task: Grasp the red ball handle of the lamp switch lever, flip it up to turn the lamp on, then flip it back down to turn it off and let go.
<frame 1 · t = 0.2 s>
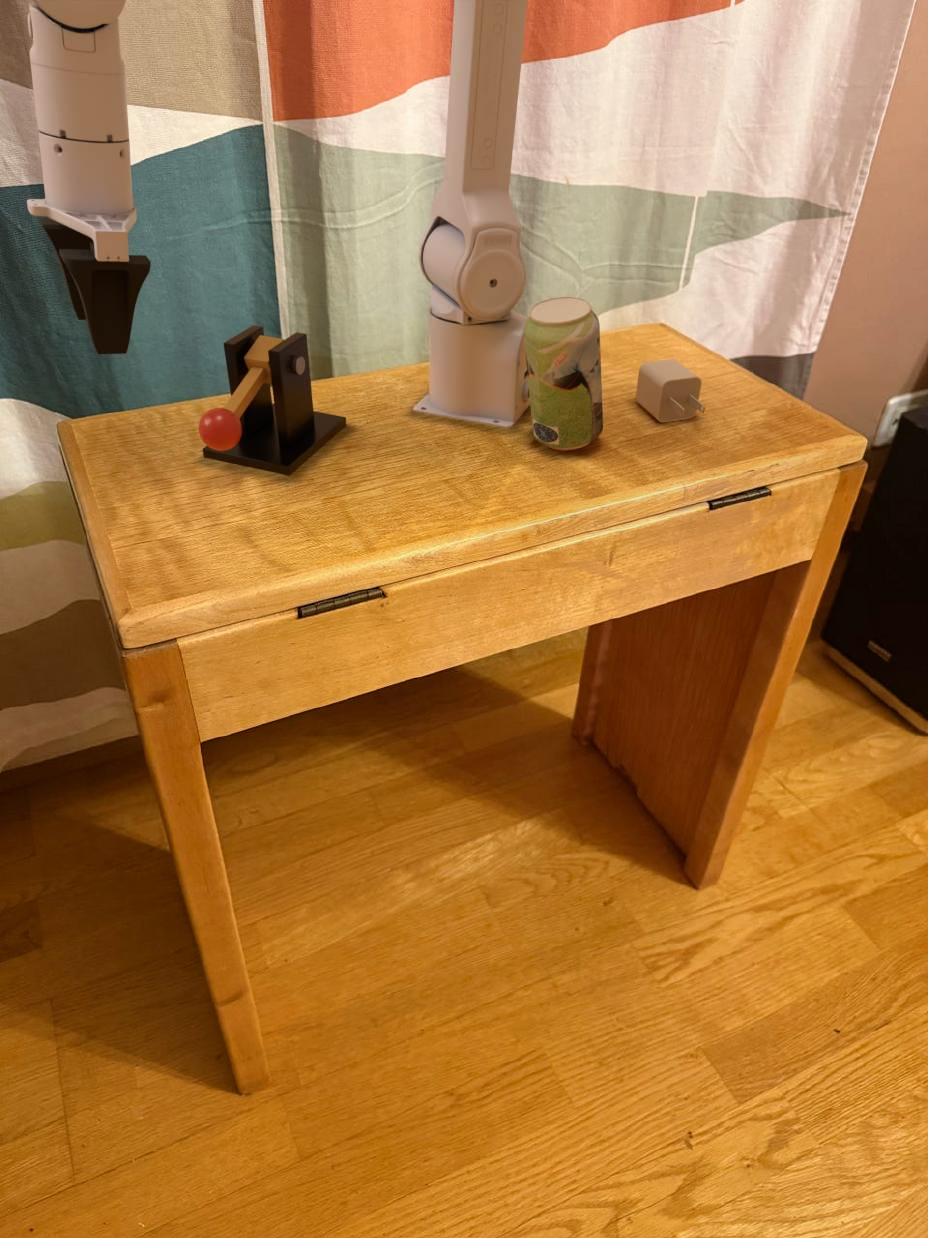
hand: (101, 334, 69), 10 cm above the table, tool pointing down, fingers open, 7 cm apart
switch lever: (244, 394, 71), point 6 cm above the table, hinge at -20.0°
switch bracket: (278, 445, 78), on the table
usb wall charger: (670, 418, 84), on the table
beverage can: (559, 444, 79), on the table
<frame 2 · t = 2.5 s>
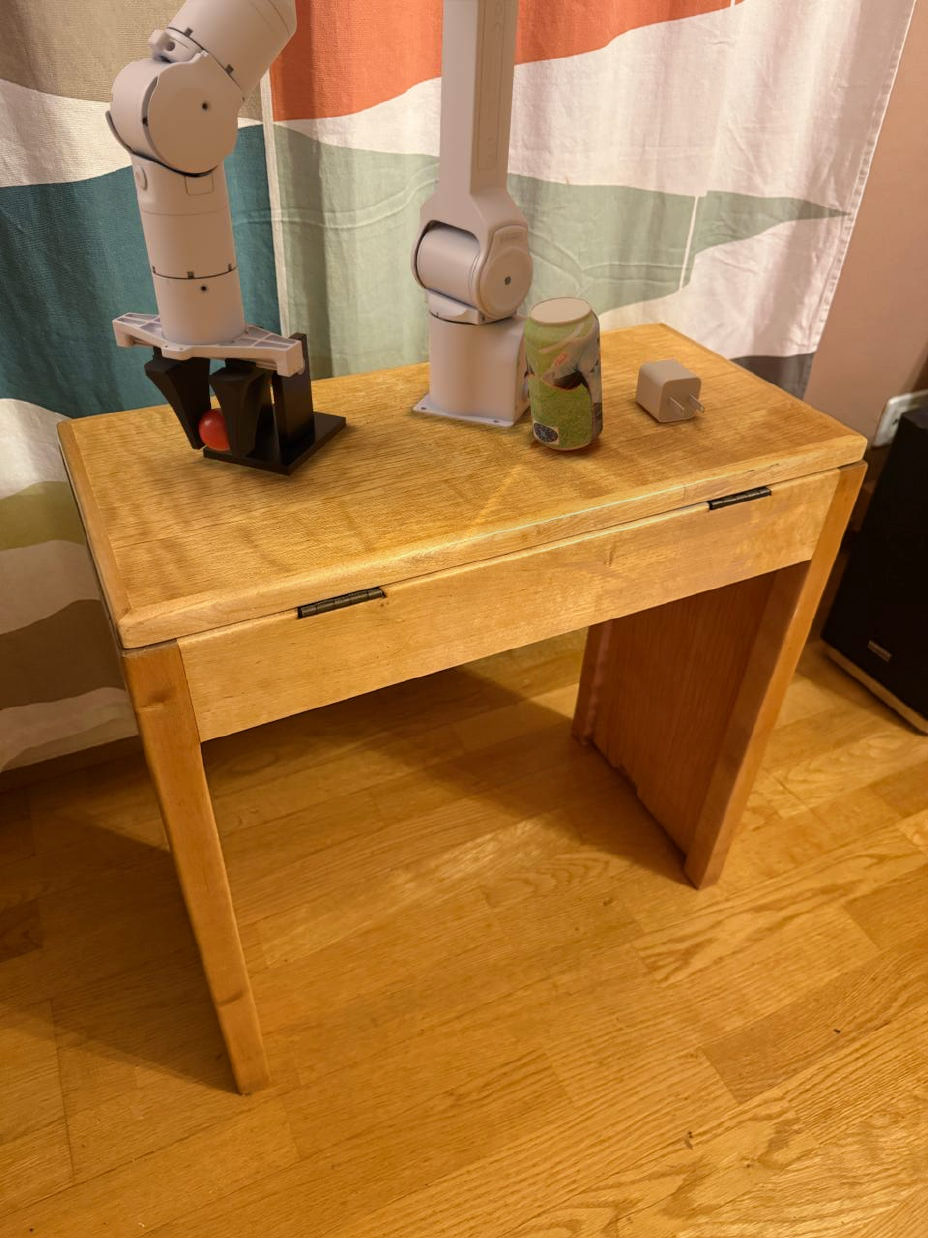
hand: (223, 448, 70), 3 cm above the table, tool pointing down, fingers closed on switch lever, 3 cm apart
switch lever: (244, 394, 71), point 6 cm above the table, hinge at -20.0°, touching gripper
everything else where it was.
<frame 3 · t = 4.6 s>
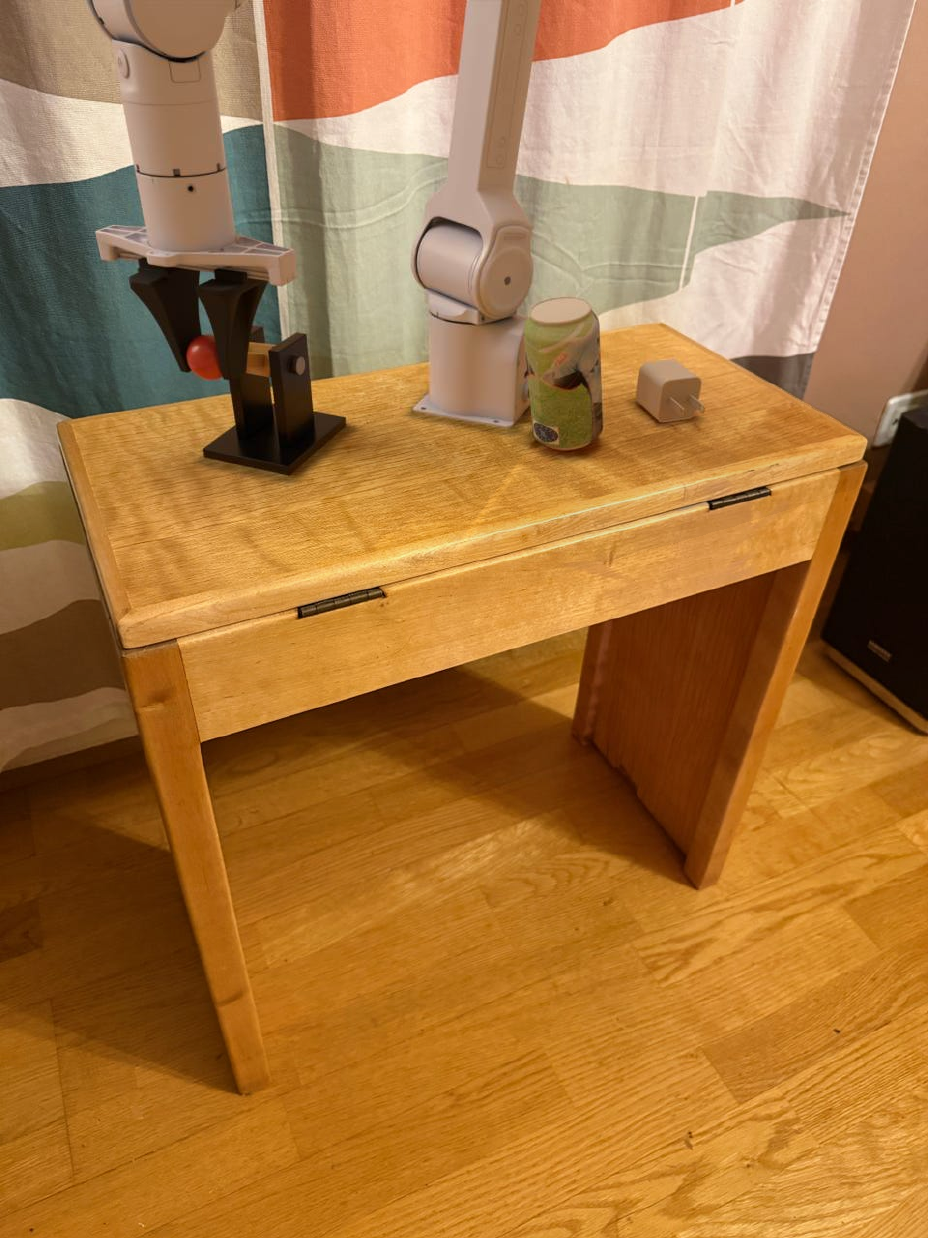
hand: (213, 371, 67), 9 cm above the table, tool pointing down, fingers closed on switch lever, 3 cm apart
switch lever: (239, 358, 70), point 9 cm above the table, hinge at 21.2°, touching gripper
everything else where it was.
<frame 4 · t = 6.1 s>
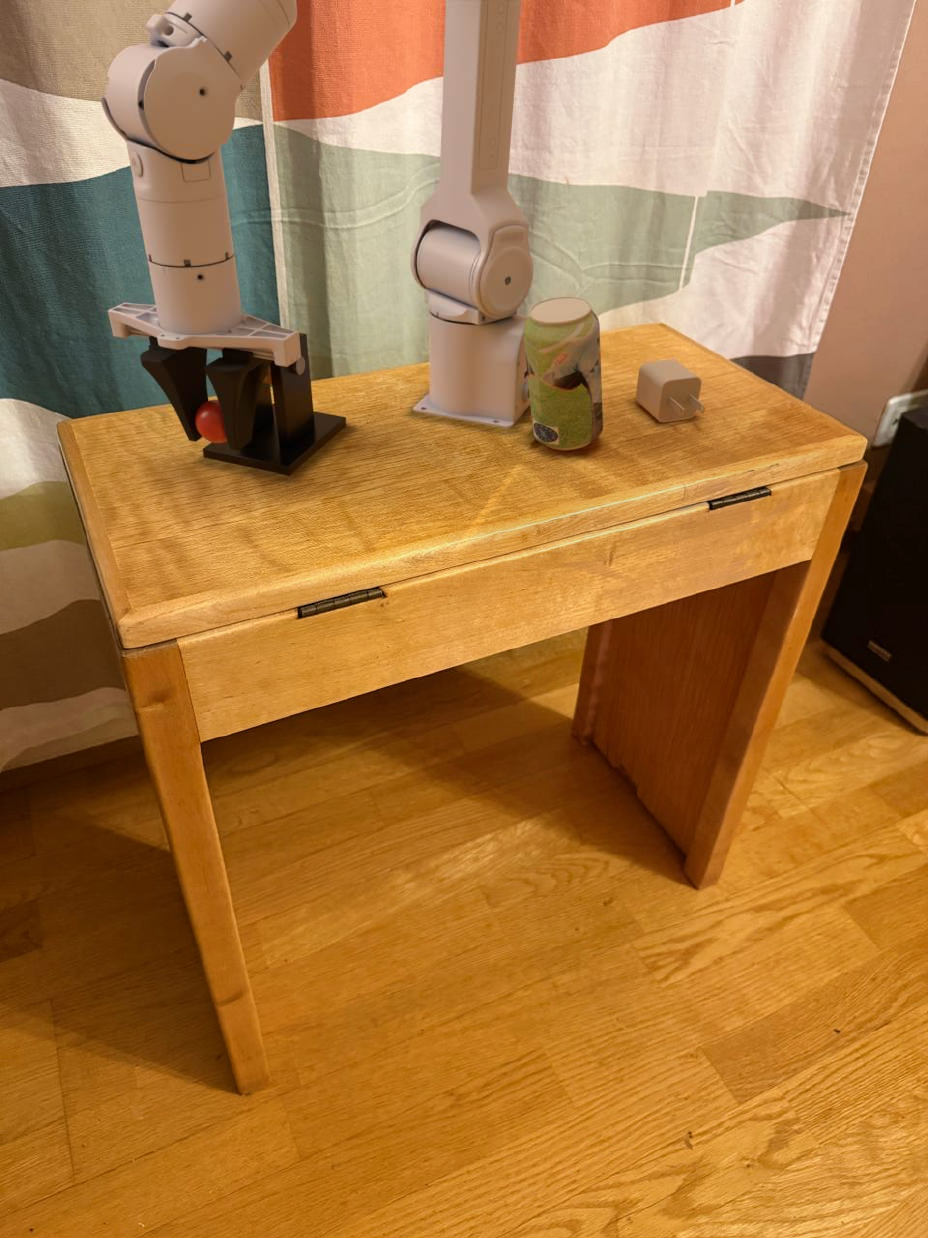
hand: (220, 440, 70), 4 cm above the table, tool pointing down, fingers closed on switch lever, 3 cm apart
switch lever: (242, 390, 71), point 6 cm above the table, hinge at -14.4°, touching gripper
everything else where it was.
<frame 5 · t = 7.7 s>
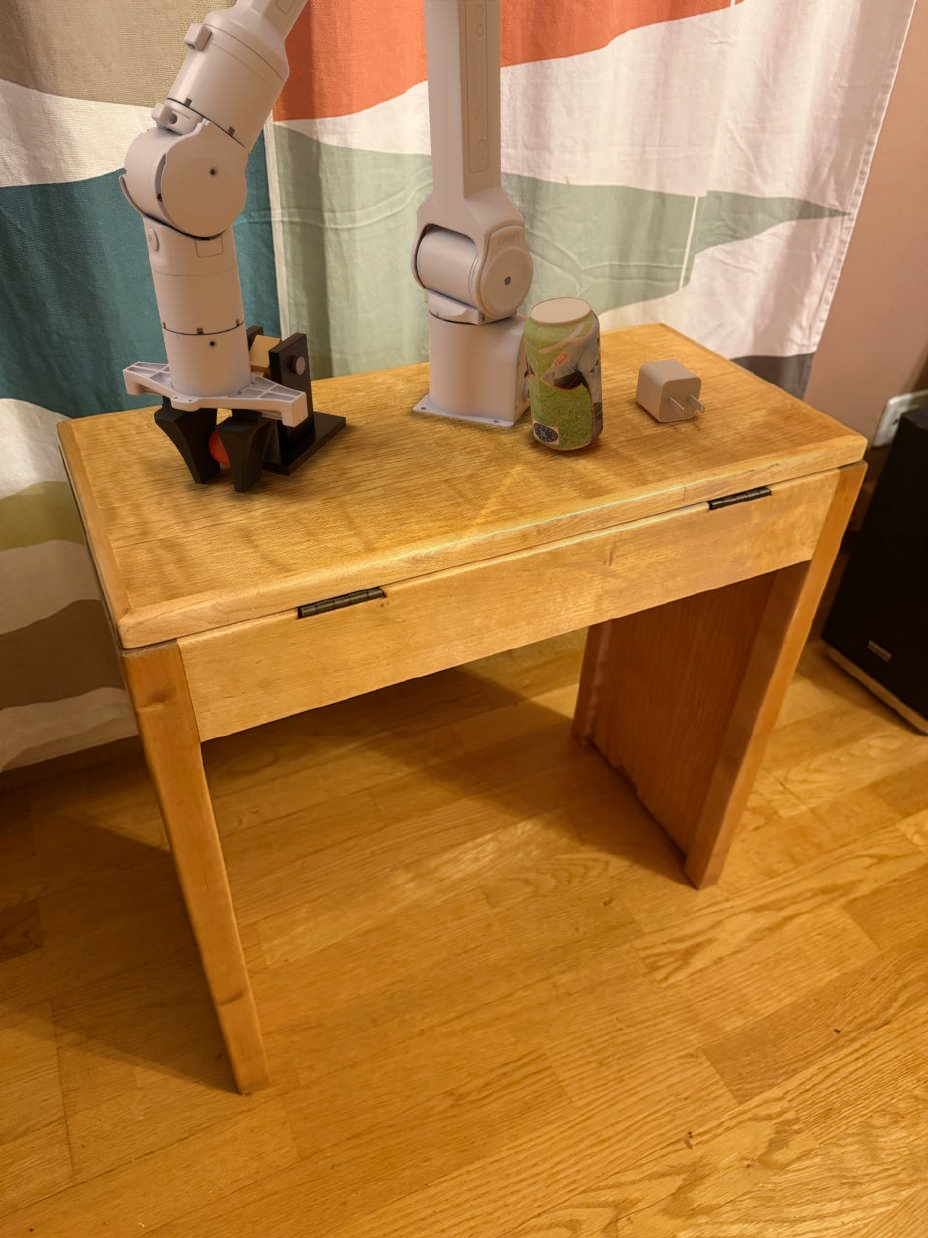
hand: (229, 491, 73), 0 cm above the table, tool pointing down, fingers closed on switch lever, 3 cm apart
switch lever: (248, 402, 72), point 5 cm above the table, hinge at -33.9°, touching gripper
everything else where it was.
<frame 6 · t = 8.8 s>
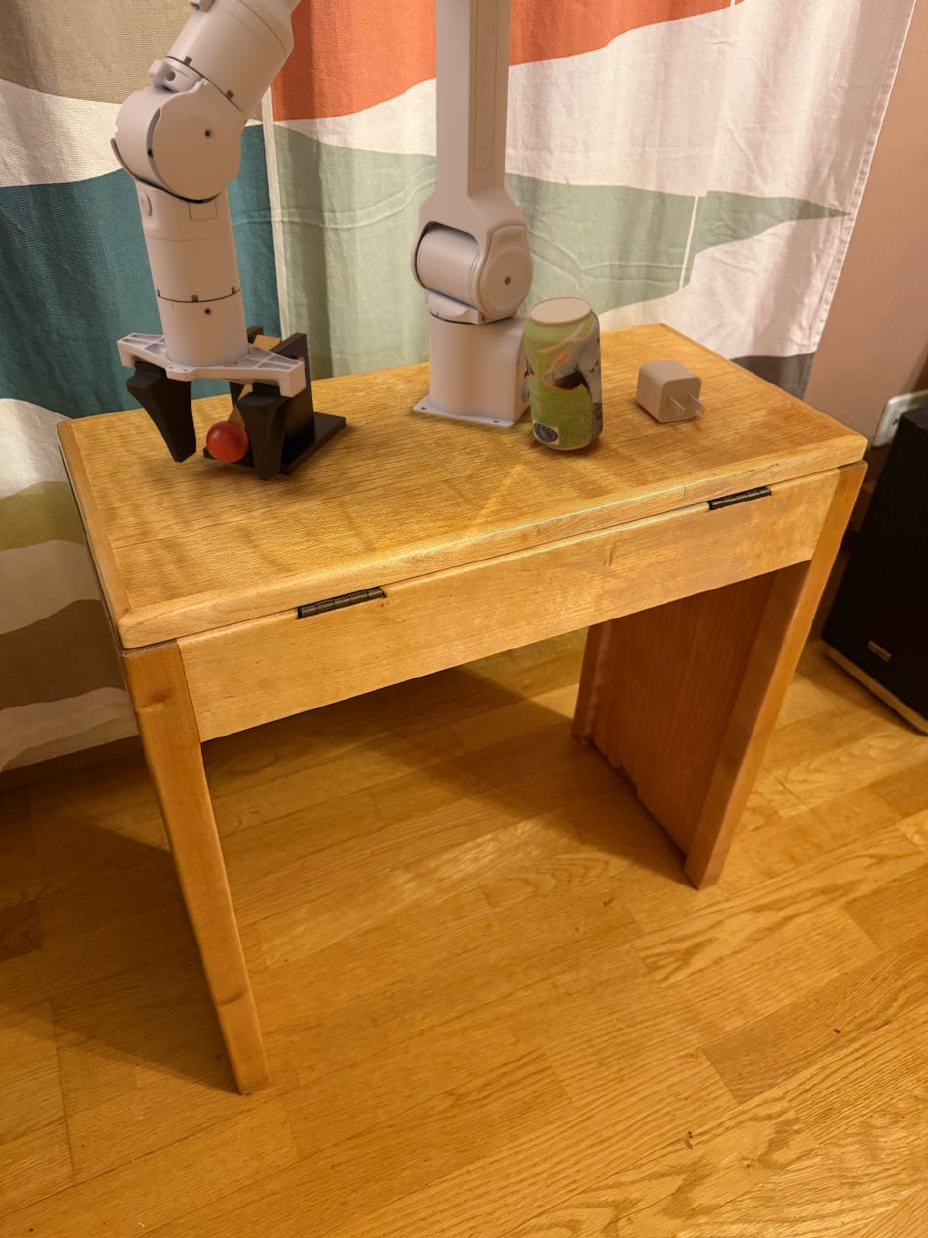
hand: (226, 465, 71), 2 cm above the table, tool pointing down, fingers open, 7 cm apart
switch lever: (247, 401, 72), point 5 cm above the table, hinge at -30.3°
everything else where it was.
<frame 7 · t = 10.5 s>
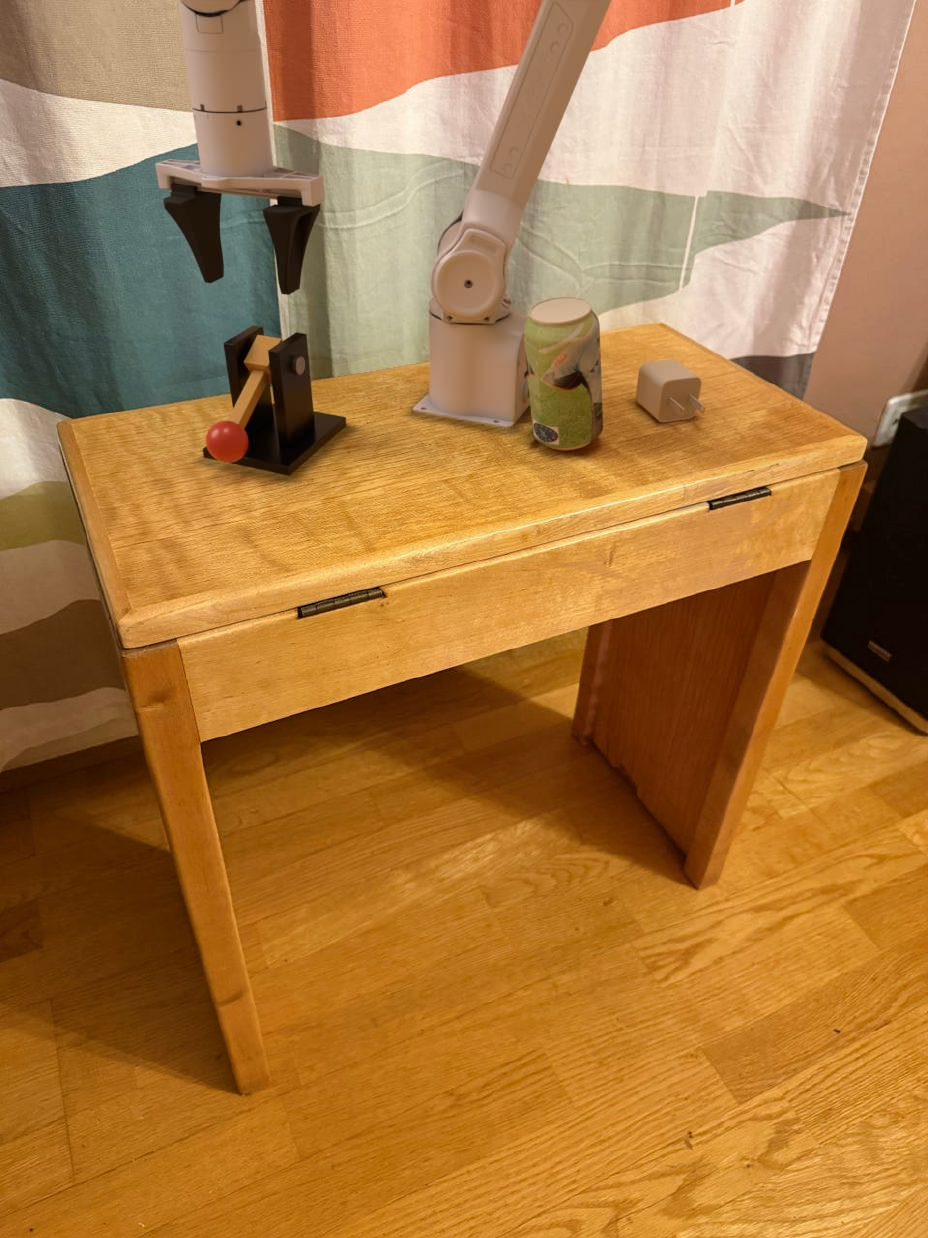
hand: (251, 285, 79), 10 cm above the table, tool pointing down, fingers open, 7 cm apart
nothing on the table moved.
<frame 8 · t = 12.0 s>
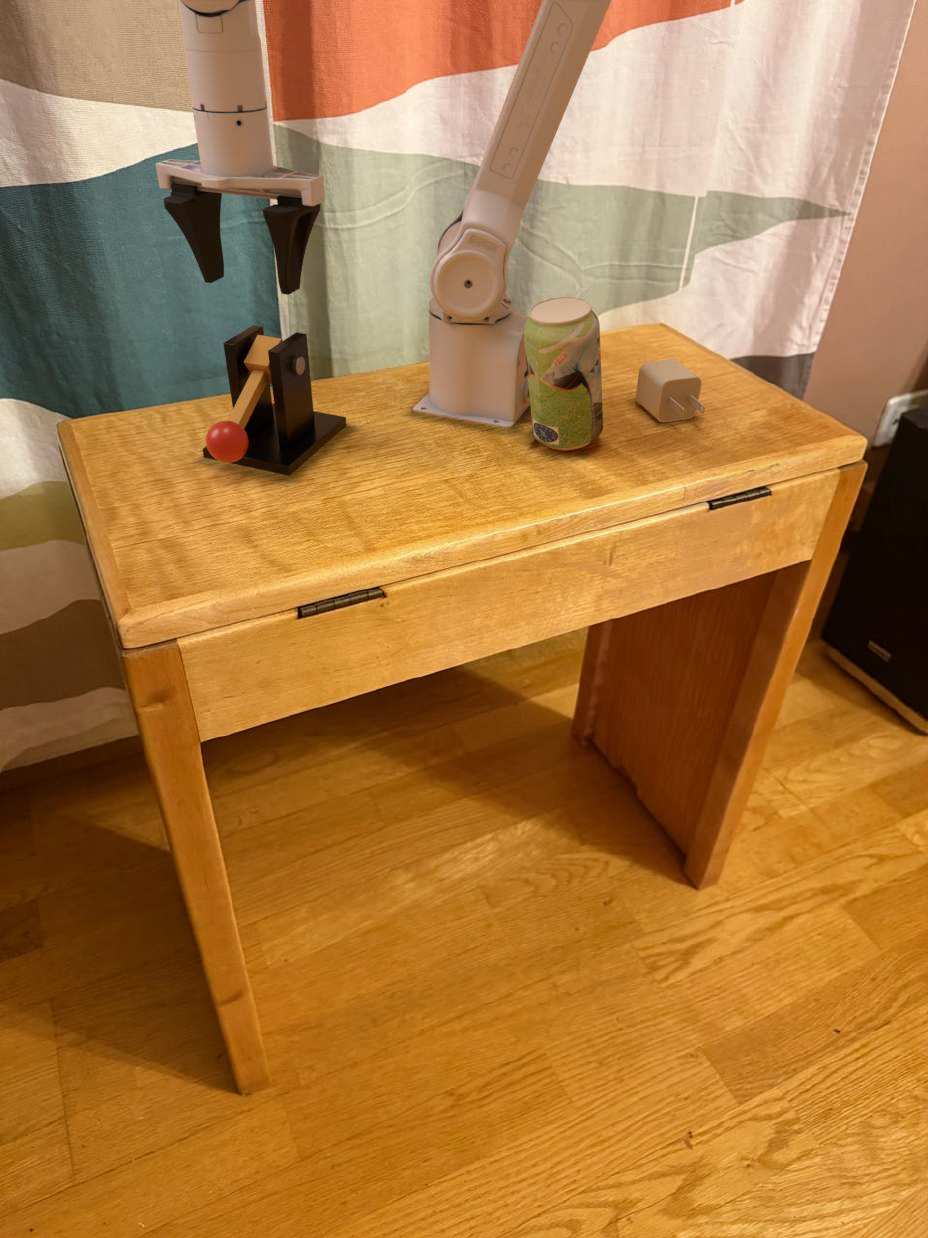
hand: (252, 285, 79), 10 cm above the table, tool pointing down, fingers open, 7 cm apart
nothing on the table moved.
at the end: switch lever reached +21° during the clip, -30° at the end; switch lever at -30° (first picture: -20°) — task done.
